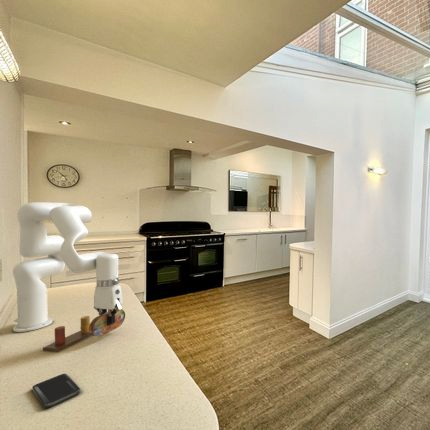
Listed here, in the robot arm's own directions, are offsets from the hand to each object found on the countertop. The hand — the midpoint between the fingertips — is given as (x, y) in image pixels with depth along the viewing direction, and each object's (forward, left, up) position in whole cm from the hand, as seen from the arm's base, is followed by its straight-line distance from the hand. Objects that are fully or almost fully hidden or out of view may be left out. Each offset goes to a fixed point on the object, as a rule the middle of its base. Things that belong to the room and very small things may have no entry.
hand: (107, 323), depth 115 cm
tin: (0, 0, -4) cm, 4 cm away
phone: (+16, -32, -6) cm, 37 cm away
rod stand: (-11, -5, -6) cm, 14 cm away
